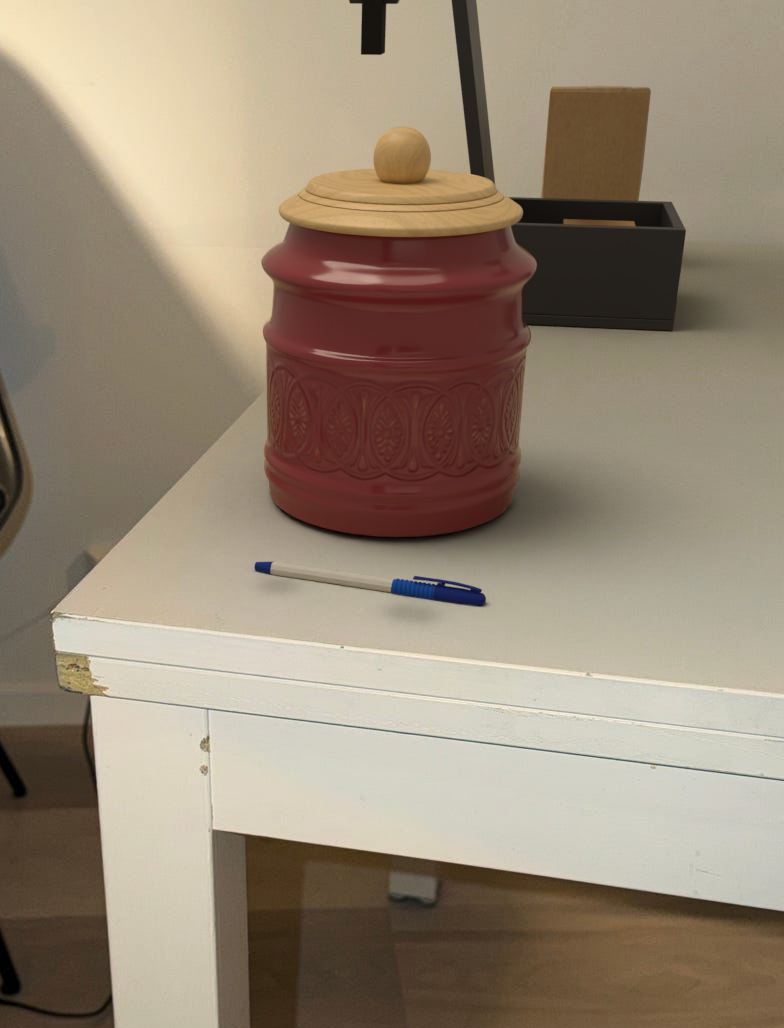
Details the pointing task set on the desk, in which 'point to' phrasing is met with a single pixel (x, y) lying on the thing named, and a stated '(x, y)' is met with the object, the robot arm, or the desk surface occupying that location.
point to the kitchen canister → (396, 348)
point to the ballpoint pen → (380, 583)
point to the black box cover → (473, 88)
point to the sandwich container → (595, 142)
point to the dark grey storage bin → (601, 263)
